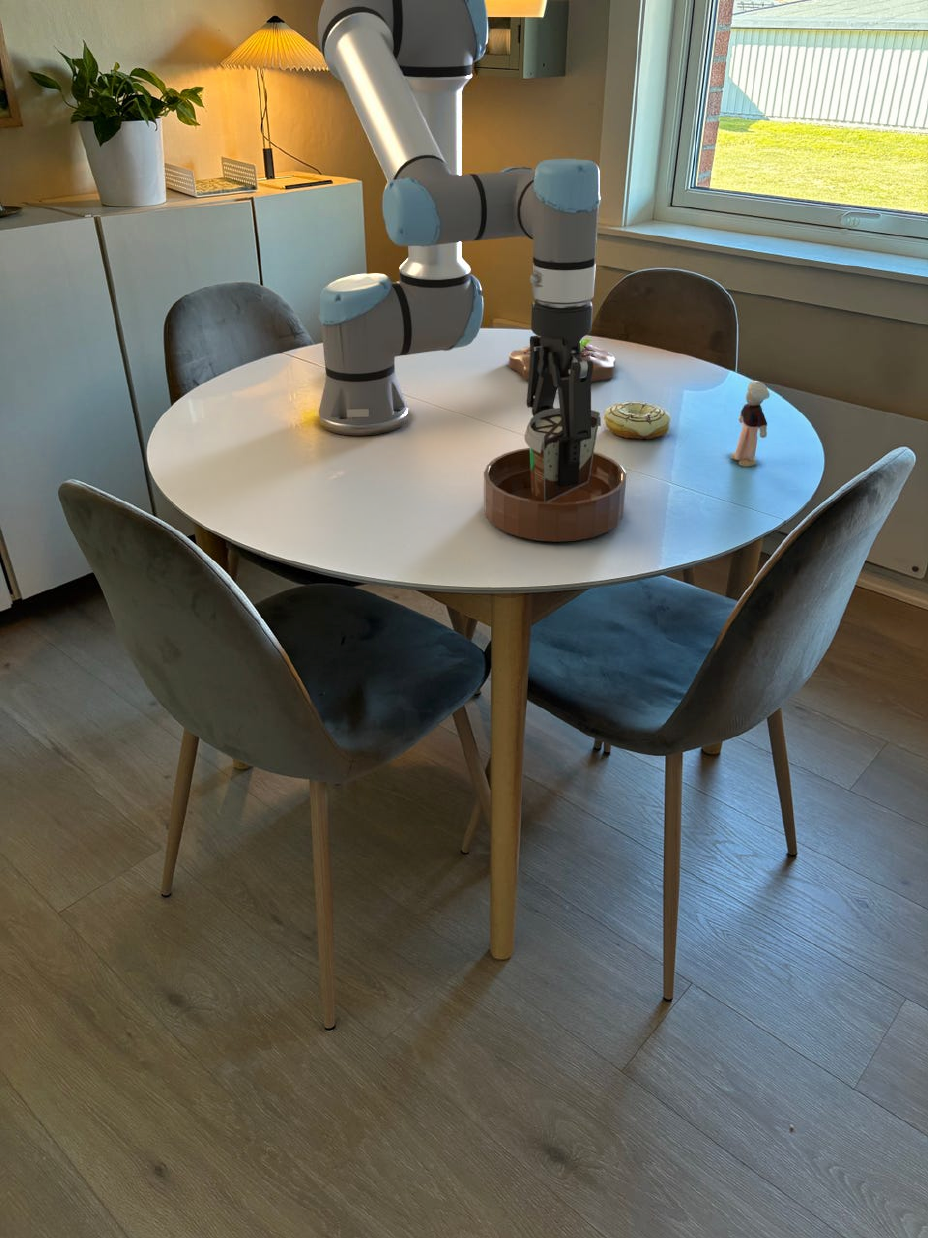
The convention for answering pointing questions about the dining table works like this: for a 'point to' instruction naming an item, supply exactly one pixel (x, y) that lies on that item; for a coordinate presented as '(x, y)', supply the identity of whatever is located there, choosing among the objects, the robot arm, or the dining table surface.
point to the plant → (600, 358)
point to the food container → (555, 454)
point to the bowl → (562, 517)
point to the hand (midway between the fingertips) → (555, 472)
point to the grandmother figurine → (751, 424)
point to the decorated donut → (637, 420)
